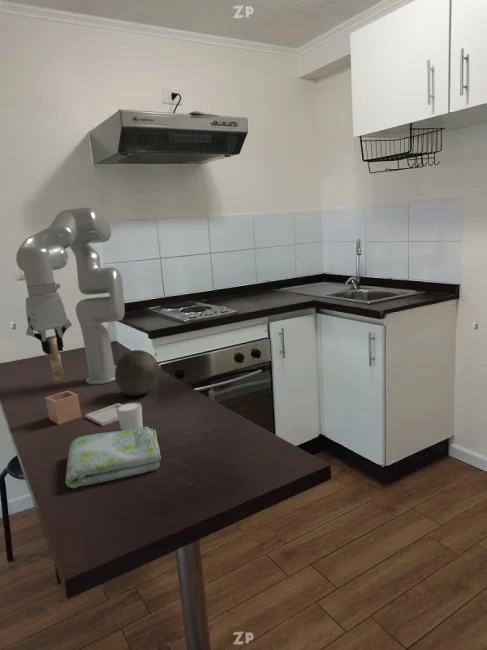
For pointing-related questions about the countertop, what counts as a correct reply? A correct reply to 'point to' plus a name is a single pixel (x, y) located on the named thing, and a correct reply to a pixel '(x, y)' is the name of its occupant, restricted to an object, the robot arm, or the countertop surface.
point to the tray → (104, 415)
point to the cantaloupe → (136, 372)
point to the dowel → (55, 359)
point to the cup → (63, 407)
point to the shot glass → (130, 416)
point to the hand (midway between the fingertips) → (53, 351)
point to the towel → (112, 456)
